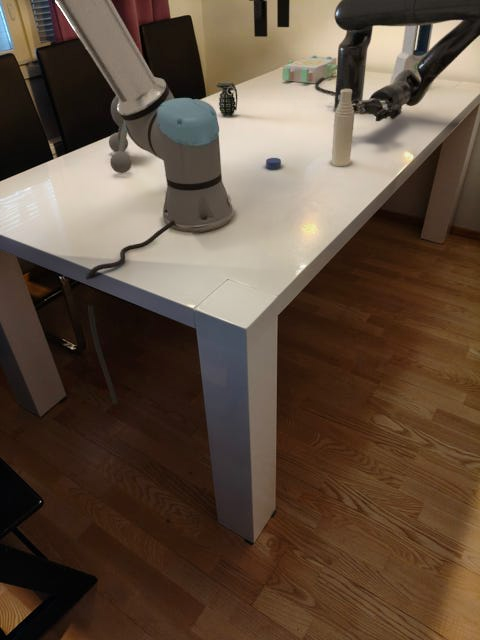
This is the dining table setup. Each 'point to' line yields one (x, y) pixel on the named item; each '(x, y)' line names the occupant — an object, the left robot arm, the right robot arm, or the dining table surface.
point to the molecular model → (119, 142)
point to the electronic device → (412, 49)
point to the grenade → (227, 99)
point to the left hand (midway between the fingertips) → (272, 31)
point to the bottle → (343, 129)
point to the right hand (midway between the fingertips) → (362, 115)
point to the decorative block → (310, 69)
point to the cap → (273, 163)
